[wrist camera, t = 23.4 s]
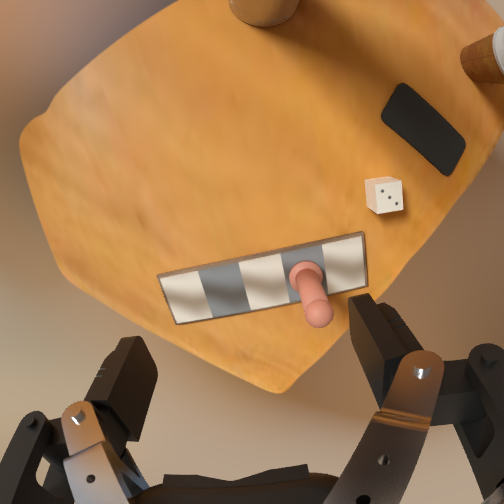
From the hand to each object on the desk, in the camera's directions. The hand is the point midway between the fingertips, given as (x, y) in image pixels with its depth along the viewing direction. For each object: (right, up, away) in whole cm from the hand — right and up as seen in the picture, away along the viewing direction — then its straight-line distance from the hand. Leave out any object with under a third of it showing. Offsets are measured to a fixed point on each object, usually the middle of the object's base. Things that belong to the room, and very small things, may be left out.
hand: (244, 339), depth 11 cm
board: (+2, -1, +35) cm, 35 cm away
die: (+18, +12, +30) cm, 37 cm away
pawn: (+8, 0, +34) cm, 34 cm away
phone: (+26, +21, +27) cm, 43 cm away
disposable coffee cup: (+36, +34, +22) cm, 54 cm away
